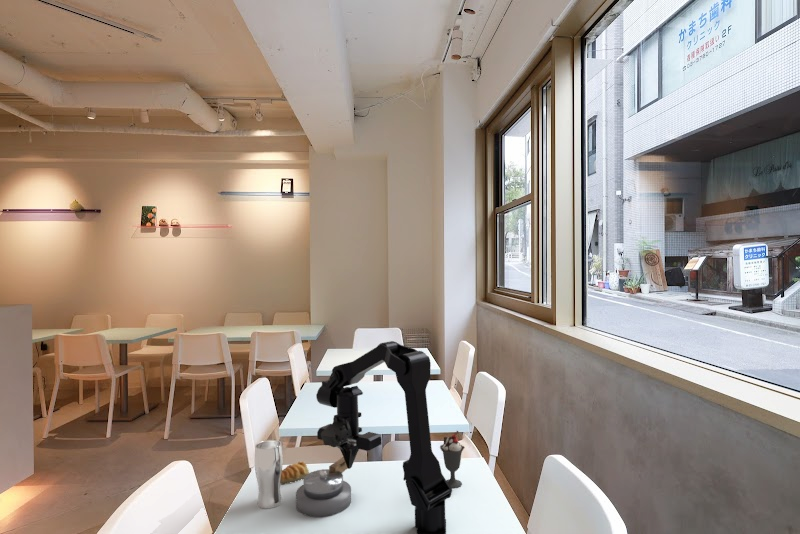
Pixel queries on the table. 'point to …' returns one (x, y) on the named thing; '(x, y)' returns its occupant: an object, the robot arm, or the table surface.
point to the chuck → (325, 481)
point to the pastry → (294, 473)
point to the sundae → (452, 458)
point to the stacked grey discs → (323, 503)
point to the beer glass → (268, 472)
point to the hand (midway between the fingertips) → (349, 468)
